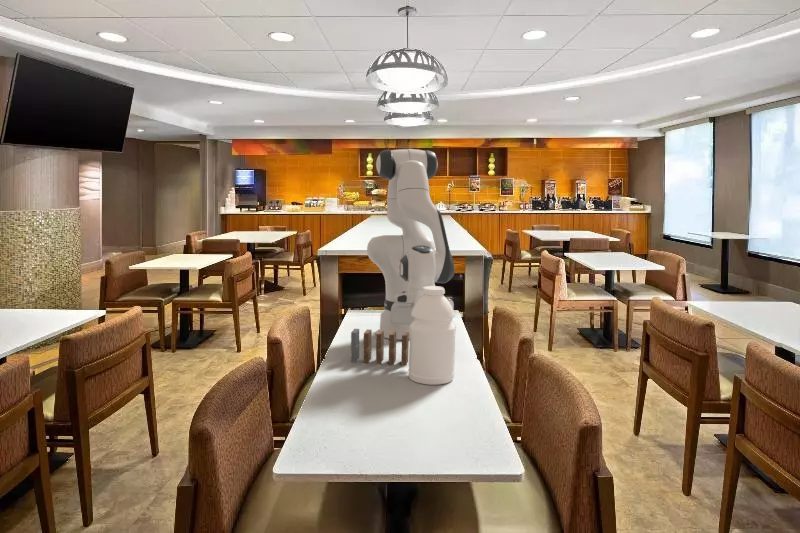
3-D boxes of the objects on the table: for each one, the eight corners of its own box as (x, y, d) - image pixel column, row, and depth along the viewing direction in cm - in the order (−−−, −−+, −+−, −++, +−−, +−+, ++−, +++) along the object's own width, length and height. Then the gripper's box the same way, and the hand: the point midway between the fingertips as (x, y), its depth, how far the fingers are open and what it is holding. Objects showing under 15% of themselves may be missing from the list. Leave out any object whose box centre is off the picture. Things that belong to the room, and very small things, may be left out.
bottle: (413, 386, 171) (415, 292, 167) (404, 371, 184) (405, 284, 180) (459, 384, 173) (463, 291, 169) (447, 369, 187) (449, 283, 183)
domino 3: (388, 364, 191) (389, 334, 190) (391, 359, 196) (391, 330, 195) (393, 364, 191) (393, 334, 189) (395, 360, 196) (396, 331, 194)
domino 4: (401, 365, 190) (401, 335, 189) (403, 360, 195) (404, 331, 194) (406, 365, 190) (406, 335, 189) (408, 360, 195) (408, 331, 194)
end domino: (351, 361, 193) (351, 332, 192) (354, 357, 198) (354, 328, 196) (355, 362, 193) (355, 332, 191) (359, 357, 198) (359, 328, 196)
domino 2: (375, 363, 192) (376, 333, 190) (378, 359, 197) (379, 330, 195) (380, 363, 191) (381, 334, 190) (383, 359, 196) (383, 330, 195)
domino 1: (363, 362, 192) (363, 333, 191) (366, 358, 197) (366, 329, 196) (368, 363, 192) (368, 333, 191) (371, 358, 197) (371, 329, 196)
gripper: (454, 296, 190) (453, 337, 192) (392, 293, 193) (391, 334, 195) (453, 299, 184) (452, 342, 186) (389, 296, 187) (388, 339, 189)
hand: (420, 338), depth 190 cm, fingers closed
